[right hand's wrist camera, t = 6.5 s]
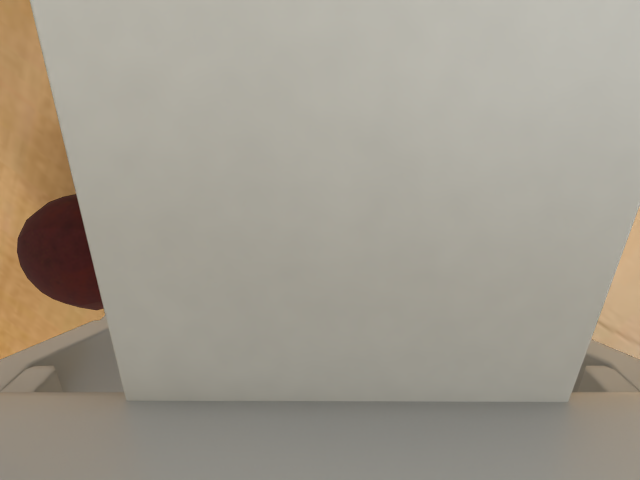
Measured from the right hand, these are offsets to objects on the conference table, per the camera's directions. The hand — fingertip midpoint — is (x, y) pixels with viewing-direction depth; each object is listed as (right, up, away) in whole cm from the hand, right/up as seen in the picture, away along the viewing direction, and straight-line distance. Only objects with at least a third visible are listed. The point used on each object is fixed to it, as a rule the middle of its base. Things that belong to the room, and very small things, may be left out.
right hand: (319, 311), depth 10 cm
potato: (-14, +3, +15) cm, 21 cm away
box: (+1, +11, +1) cm, 11 cm away
